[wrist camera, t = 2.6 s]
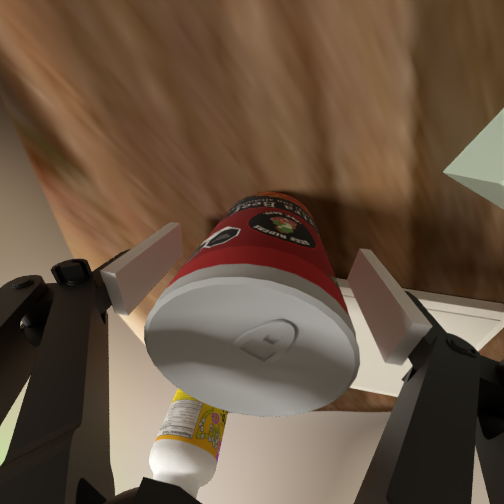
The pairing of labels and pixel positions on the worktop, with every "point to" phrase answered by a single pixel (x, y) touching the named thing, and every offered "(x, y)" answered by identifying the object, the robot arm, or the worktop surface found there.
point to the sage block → (483, 163)
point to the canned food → (257, 316)
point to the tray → (446, 314)
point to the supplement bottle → (188, 443)
